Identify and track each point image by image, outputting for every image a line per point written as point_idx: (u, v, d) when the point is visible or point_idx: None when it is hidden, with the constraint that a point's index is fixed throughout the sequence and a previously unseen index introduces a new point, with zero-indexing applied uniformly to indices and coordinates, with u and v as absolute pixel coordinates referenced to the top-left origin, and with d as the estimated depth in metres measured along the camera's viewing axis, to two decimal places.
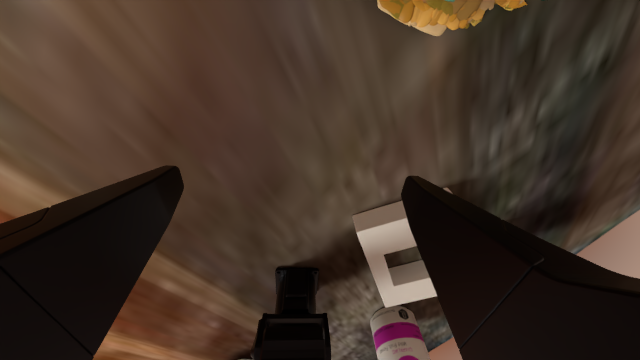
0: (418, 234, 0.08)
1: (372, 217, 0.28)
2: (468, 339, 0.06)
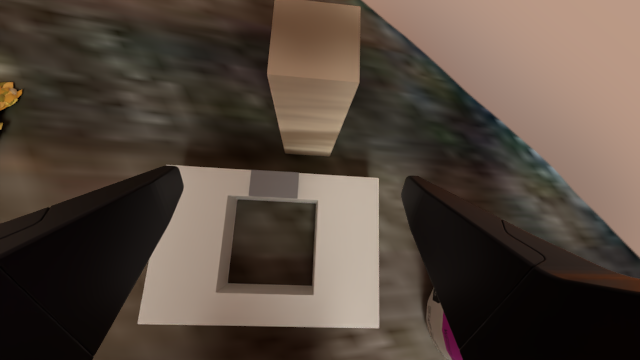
0: (418, 234, 0.08)
1: None
2: (467, 338, 0.06)
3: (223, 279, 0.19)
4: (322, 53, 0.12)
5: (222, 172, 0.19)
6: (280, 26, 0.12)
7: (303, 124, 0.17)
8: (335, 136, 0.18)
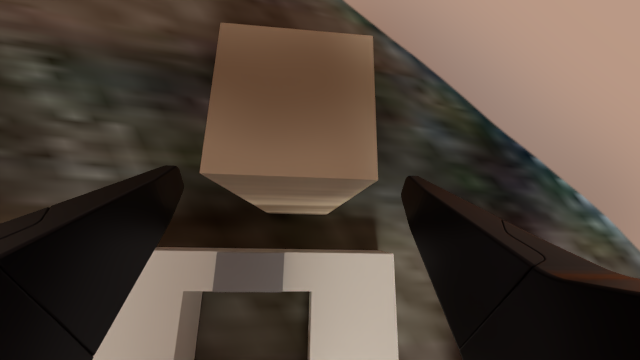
0: (418, 234, 0.08)
1: None
2: (467, 338, 0.06)
3: None
4: (308, 124, 0.06)
5: (177, 257, 0.14)
6: (229, 76, 0.06)
7: (285, 202, 0.11)
8: (333, 207, 0.13)
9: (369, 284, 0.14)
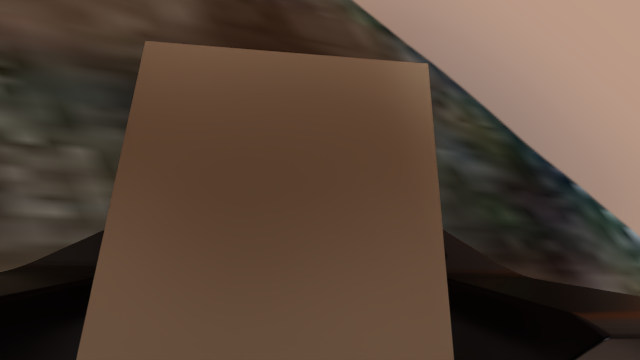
0: None
1: None
2: None
3: None
4: (310, 250, 0.03)
5: None
6: (154, 149, 0.03)
7: None
8: None
9: None
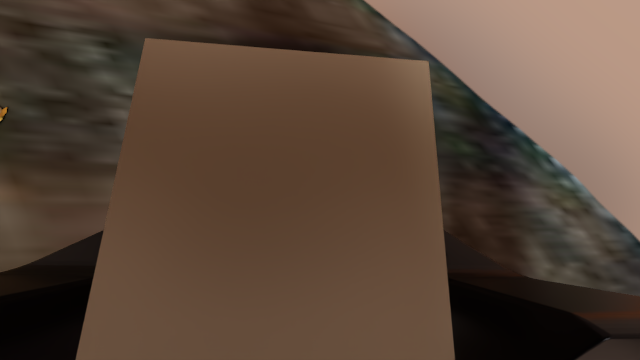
0: None
1: None
2: None
3: None
4: (311, 247, 0.03)
5: None
6: (154, 146, 0.03)
7: None
8: None
9: None
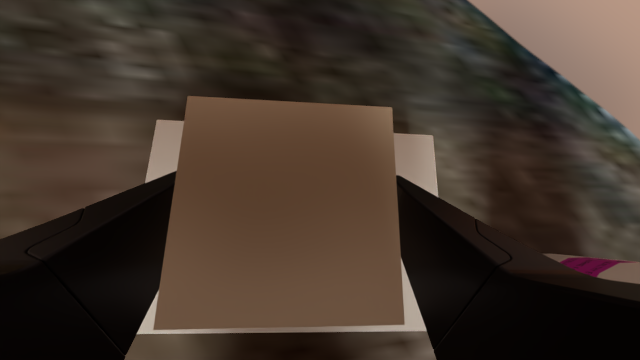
0: None
1: None
2: (440, 338, 0.06)
3: None
4: (306, 243, 0.05)
5: None
6: (198, 175, 0.05)
7: None
8: None
9: (411, 160, 0.15)
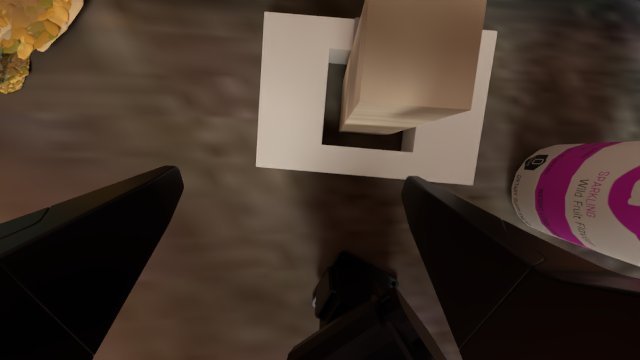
0: (418, 234, 0.08)
1: None
2: (467, 338, 0.06)
3: None
4: (428, 68, 0.09)
5: (323, 21, 0.18)
6: (376, 29, 0.09)
7: (374, 122, 0.15)
8: (405, 128, 0.16)
9: None
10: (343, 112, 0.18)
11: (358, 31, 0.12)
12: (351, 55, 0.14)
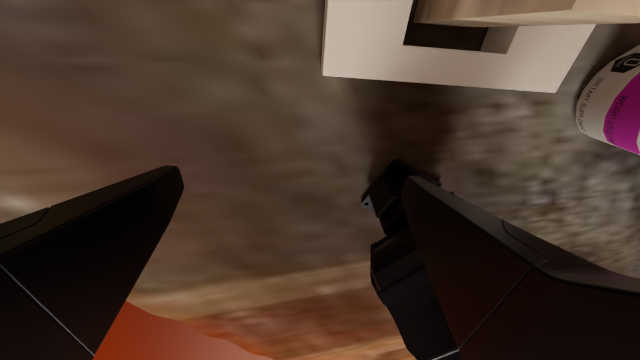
0: (418, 234, 0.08)
1: None
2: (467, 338, 0.06)
3: None
4: None
5: None
6: None
7: (500, 21, 0.12)
8: (522, 25, 0.13)
9: None
10: None
11: None
12: None
